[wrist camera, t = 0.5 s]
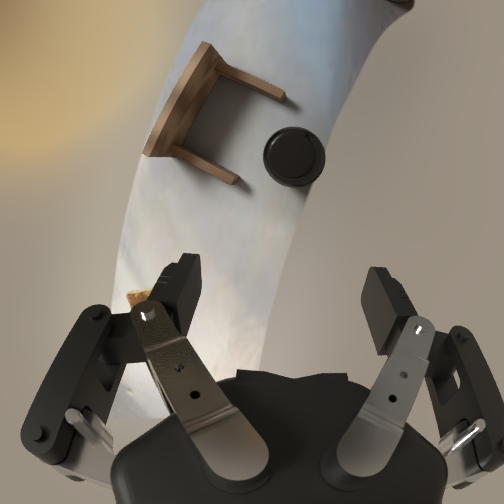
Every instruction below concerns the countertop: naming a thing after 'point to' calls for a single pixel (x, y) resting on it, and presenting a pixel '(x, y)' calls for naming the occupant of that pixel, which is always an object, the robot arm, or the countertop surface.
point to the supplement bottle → (294, 157)
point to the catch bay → (198, 108)
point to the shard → (138, 296)
